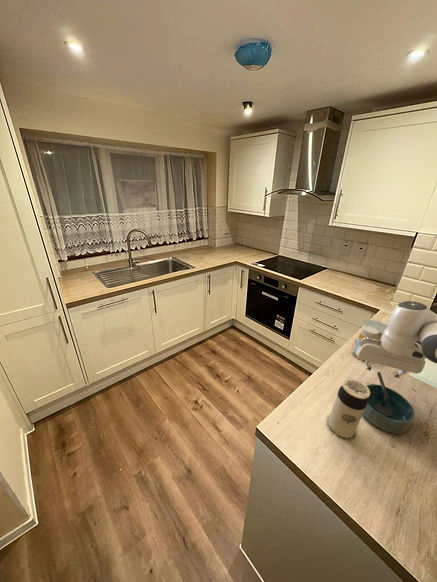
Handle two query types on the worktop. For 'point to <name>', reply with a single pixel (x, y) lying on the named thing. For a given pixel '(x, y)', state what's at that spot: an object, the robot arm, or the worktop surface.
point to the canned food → (377, 325)
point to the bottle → (365, 333)
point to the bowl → (395, 402)
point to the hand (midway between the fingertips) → (381, 372)
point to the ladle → (382, 407)
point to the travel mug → (348, 407)
